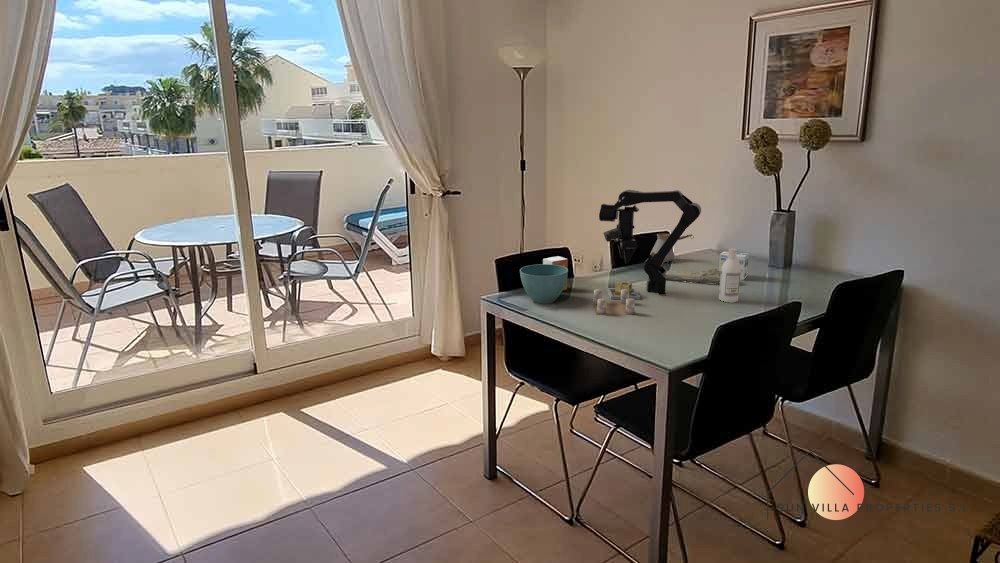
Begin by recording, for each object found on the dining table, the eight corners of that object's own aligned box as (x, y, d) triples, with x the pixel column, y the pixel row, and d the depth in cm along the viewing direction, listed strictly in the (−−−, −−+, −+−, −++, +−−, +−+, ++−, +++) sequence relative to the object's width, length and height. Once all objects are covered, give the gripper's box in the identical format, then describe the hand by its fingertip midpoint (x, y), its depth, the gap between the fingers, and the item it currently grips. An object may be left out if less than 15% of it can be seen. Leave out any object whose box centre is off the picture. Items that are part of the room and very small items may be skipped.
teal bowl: (533, 310, 227) (533, 277, 224) (512, 297, 243) (512, 267, 240) (576, 303, 234) (576, 272, 231) (553, 291, 250) (553, 262, 247)
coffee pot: (644, 260, 299) (646, 230, 295) (658, 257, 306) (660, 227, 302) (683, 268, 284) (686, 236, 280) (697, 264, 291) (699, 232, 287)
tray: (635, 293, 246) (635, 288, 246) (640, 301, 236) (640, 296, 235) (607, 293, 247) (607, 288, 246) (610, 301, 236) (611, 296, 236)
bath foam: (742, 301, 234) (746, 249, 229) (728, 304, 231) (732, 251, 226) (728, 296, 240) (732, 246, 235) (714, 299, 237) (718, 248, 232)
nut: (630, 293, 244) (630, 281, 242) (632, 297, 238) (633, 285, 237) (614, 293, 244) (614, 281, 243) (615, 297, 239) (616, 285, 237)
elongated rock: (655, 277, 275) (651, 284, 267) (655, 266, 274) (651, 272, 265) (739, 280, 262) (738, 287, 253) (740, 268, 260) (739, 275, 251)
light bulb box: (747, 277, 267) (749, 253, 264) (743, 281, 262) (746, 256, 259) (721, 274, 273) (723, 250, 270) (717, 278, 267) (719, 253, 264)
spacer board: (629, 303, 234) (629, 288, 232) (636, 317, 218) (637, 301, 217) (591, 303, 234) (592, 288, 233) (596, 317, 219) (596, 301, 217)
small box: (551, 293, 248) (552, 261, 245) (542, 289, 253) (542, 258, 250) (567, 289, 253) (568, 258, 249) (557, 286, 258) (558, 255, 254)
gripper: (601, 218, 253) (600, 256, 257) (610, 227, 235) (608, 267, 239) (628, 218, 253) (627, 255, 257) (639, 226, 235) (637, 266, 239)
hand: (624, 261), depth 248 cm, fingers open, 9 cm apart
